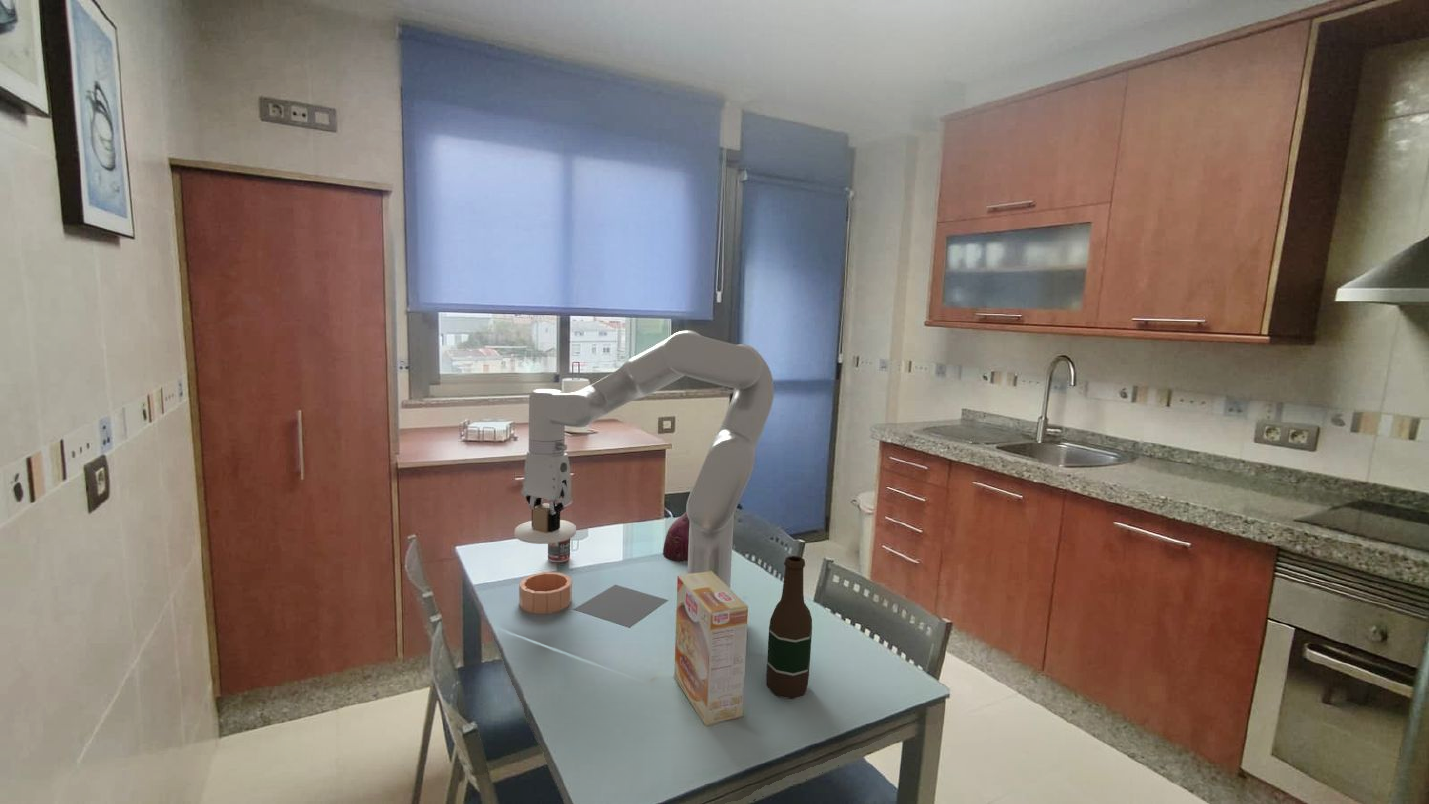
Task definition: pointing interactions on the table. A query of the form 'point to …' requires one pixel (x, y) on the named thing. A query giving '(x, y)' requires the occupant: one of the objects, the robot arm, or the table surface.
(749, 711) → the table surface
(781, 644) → the beer bottle
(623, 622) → the mat
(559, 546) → the pill bottle
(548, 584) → the bowl
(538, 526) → the lid
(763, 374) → the robot arm
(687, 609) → the coffeecake box
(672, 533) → the vegetable
